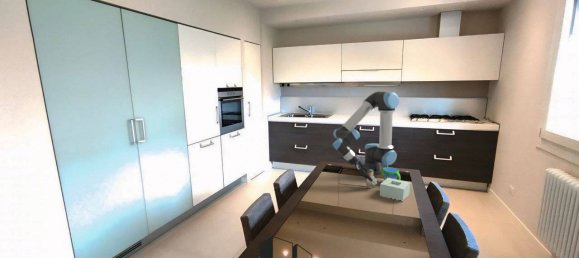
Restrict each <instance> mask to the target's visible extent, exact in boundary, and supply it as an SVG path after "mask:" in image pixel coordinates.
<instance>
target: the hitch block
mask: <svg viewBox="0 0 579 258" xmlns="http://www.w3.org/2000/svg"><path fill="white" fill-rule="evenodd" d="M379 186H380V187H379V197H381V198H386V199H390V198H392V199H391V200H394V199H396V200H395V201H398V200H401V201H403V200H404V199H405V198H406V197H409V195H410V191H411V190H410V188H411V182H410V181H406V180H405V181H404V180H398V179H397V180H396V179H392V178H387V179H386V180H385V181H384V180H383V181H382V182H381V183H380V185H379ZM406 199H407V198H406ZM406 199H405V200H406ZM405 200H404V201H405ZM401 201H400V202H401ZM404 201H403V202H404Z"/></svg>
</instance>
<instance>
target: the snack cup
mask: <svg viewBox="0 0 579 258" xmlns="http://www.w3.org/2000/svg"><path fill="white" fill-rule="evenodd" d="M380 176H381V177H383V181H385V180H386V179H387V178H392V179H396V180H401V174H400V170H399V169H398V168H397V167H396V168H395V167H390V166H389V167H387V166H386V167H383V168H381V173H380ZM401 181H402V180H401Z"/></svg>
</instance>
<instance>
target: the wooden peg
mask: <svg viewBox="0 0 579 258" xmlns="http://www.w3.org/2000/svg"><path fill="white" fill-rule="evenodd" d="M367 173H368V174H369V175H370V176H371V177H372V178H373V177H374V174H373V170H371V169H368V170H367ZM373 186H374V185H373V184H372V183H371V182H370V181H369V180H368V179H366V189H373Z"/></svg>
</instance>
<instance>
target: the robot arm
mask: <svg viewBox="0 0 579 258" xmlns="http://www.w3.org/2000/svg"><path fill="white" fill-rule="evenodd" d="M399 99H400V98H399V96H398V94H397V93H396V92H393V91H379V90H378V91H374V92H373V93H371V94H370V95H368V96H367V97H366V98H365V99H364V100H363V101H362V104H361V105H360V106H358V107H359V108H357V109H356V111H355V112H354V113H353V114H352V115H351V116H350V117H349V118H348V119H347V120H346V121H345V122H344V123H343V124H342V126H341V127H339V128H336V129H334V130H333V137H334V138H335V139H336V140H335V141H334V142H333V143H332V146H333V148H334V149H335V151H337V152H338V153H339V154H340V155H341V156H342V157H343V159H345V160H346V161H347V163H348V164H349V165H350V166H353V165H354V167H355V169H356V170H357V171H358V172H359V173H360V174H361V175H362V176H363V177H364V178H365V179H366V180H367V179H368V180H369V181H370V182H371V183H372V184H373V186H376V185H377V184H378V182H377V181H378V179H376V178H375V176H373V178H372V177H371V176H370V175H369V174H368V173H367V170H368V169H371V170H373V175H381V170H382V166H381V164H382V165H386V166H391V165H393V164H394V163H395V162H396V160H397V157H398V154H397V152H396V150H394V147H395V146H394V145H392V140H393V138H392V137H393V117H394V116H393V113H394V112H395V110H396V109H397V107H398V106H399V104H400V100H399ZM375 108H377V109H378V110H377V111H378V112H379V143H374V142H373V143H366V144H365V146H364V163H362V161H361V160H359V159H360V157H359V156H358V155H357V154H356V153H355V152H354V151H353V149H352V148H351V146H352V145H354V143H356V142H357V141H358V139H359V138H360V137H361V134H360V132H359V131H358V130H357V129H355V128H356V126H357V125H358V124H359V123H360V122H361V121H362V120H364V118H365V117H366V116H367V115H368V114H369V113H370V111H374V110H375Z"/></svg>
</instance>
